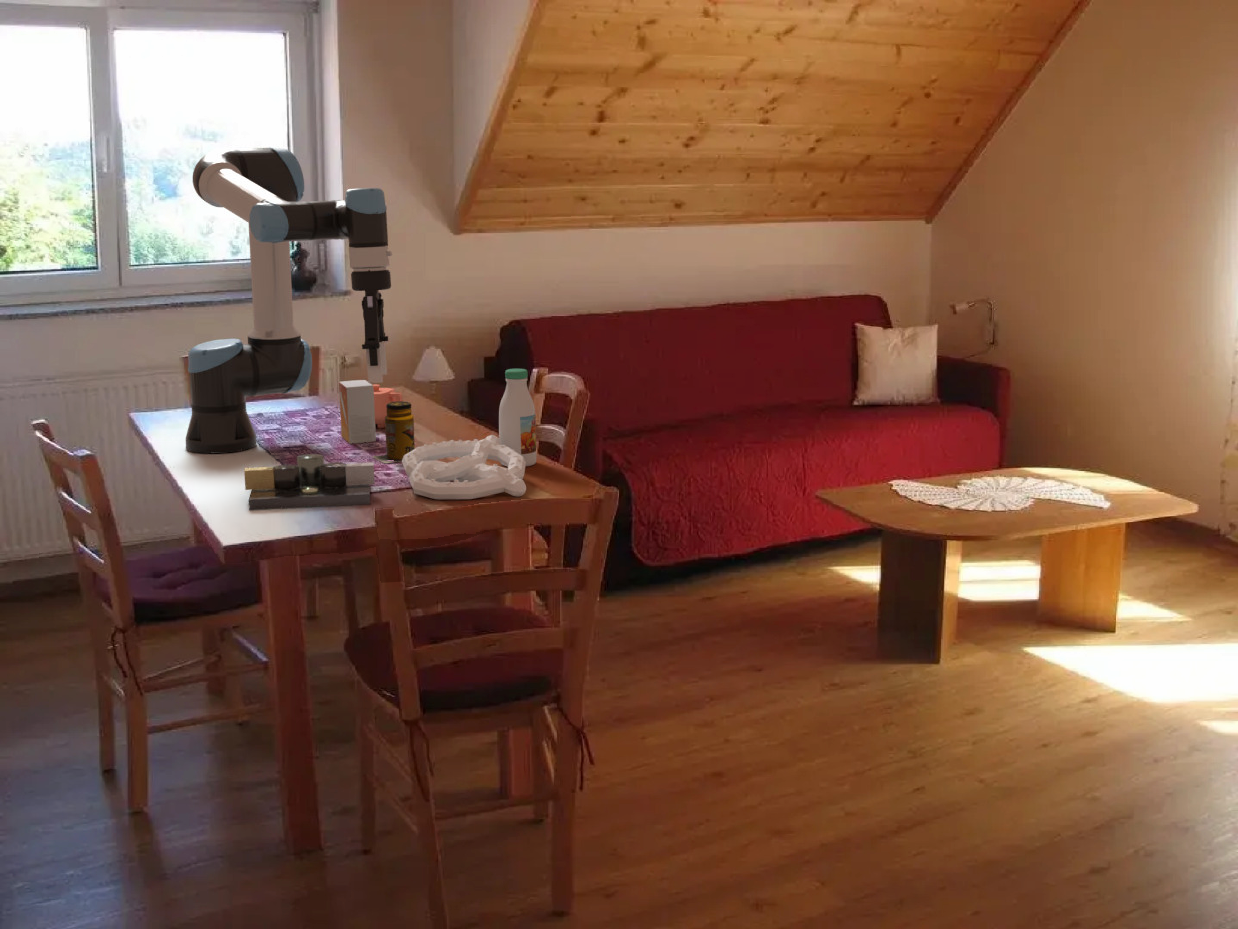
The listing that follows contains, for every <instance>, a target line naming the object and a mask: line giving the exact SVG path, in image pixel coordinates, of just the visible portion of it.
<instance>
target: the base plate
mask: <svg viewBox="0 0 1238 929" xmlns="http://www.w3.org/2000/svg"><path fill="white" fill-rule="evenodd" d="M324 461H325V460H324V455H323V454H318V453H310V454H309V453H307V454H300V455H298V456H297V457H296V464H297V466H299V477H300V487H298V488H295V489H290V490H278V489H256V490H250V494H249V497H248V509H249V511H254V510H255V511H257V510H277V509H280V510H283V509H299V508H319V507H323V508H324V507H340V506H341V507H343V506H345V507H346V506H361V505H363V506H364V505H366V506H367V505H371V497H370V496H371V494H370V493H371V492H370V484H368V485H346V486H343V487H336V488H328V487H323V486H322V485H321V468H320V466H321V465H323V464H325V463H324Z"/></svg>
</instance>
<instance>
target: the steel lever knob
mask: <svg viewBox="0 0 1238 929" xmlns="http://www.w3.org/2000/svg"><path fill="white" fill-rule="evenodd" d="M374 466H375V464H374V462H357V463H356V462H355V463H345V462H328V463H327V462H326V463H324V464H323V465H321V466H320V468H321V485H322V486H323V487H328V488H336V487H343V486H346V485H368V484H369V485H375V468H374Z"/></svg>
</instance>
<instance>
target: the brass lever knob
mask: <svg viewBox="0 0 1238 929" xmlns="http://www.w3.org/2000/svg"><path fill="white" fill-rule="evenodd" d="M243 473H244V486H245V488H244V489H245V491H251V490H256V489H278V490H290V489H295V488H298V487H300V477H299V466H297V465H295V464H281V465H280V464H279V465H275V466H263V467H262V466H260V467H244V471H243Z"/></svg>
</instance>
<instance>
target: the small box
mask: <svg viewBox="0 0 1238 929" xmlns="http://www.w3.org/2000/svg"><path fill="white" fill-rule="evenodd" d="M373 385H374V384H373V383H368V380H365V379H356V380H344V381H343V380H342V381H338V386H339V387H338V389H339V410H340V432H341V435H340V436H341V437H342V438H343V439H344V440H345V441H346V442H347V443H348V444H350V445H353V444H352V443H354V444H361V443H362V444H363V443H364V442H366V443H374V442H377V436H376V434H377V433H376V432H377V431H376V424H375V409H374V389H373ZM364 444H365V443H364Z"/></svg>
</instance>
